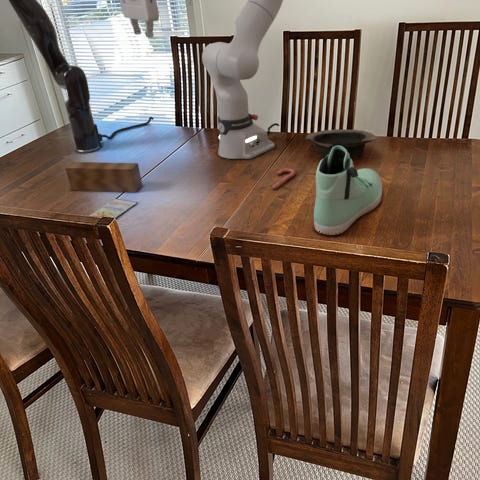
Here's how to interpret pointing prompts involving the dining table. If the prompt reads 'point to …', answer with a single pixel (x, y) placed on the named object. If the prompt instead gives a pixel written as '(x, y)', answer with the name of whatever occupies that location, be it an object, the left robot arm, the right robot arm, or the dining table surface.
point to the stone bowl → (340, 141)
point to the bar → (104, 176)
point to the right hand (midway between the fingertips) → (143, 35)
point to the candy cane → (284, 177)
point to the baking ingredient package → (113, 208)
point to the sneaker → (343, 192)
